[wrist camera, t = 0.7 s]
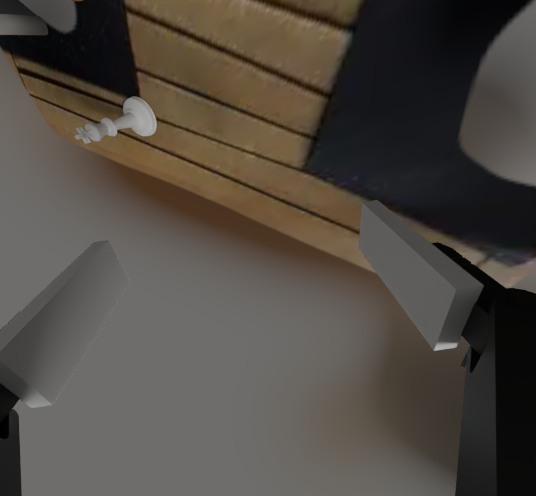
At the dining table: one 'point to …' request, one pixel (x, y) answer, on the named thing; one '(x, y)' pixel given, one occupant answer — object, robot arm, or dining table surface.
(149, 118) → the chess piece
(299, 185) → the dining table surface
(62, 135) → the dining table surface
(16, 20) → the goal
